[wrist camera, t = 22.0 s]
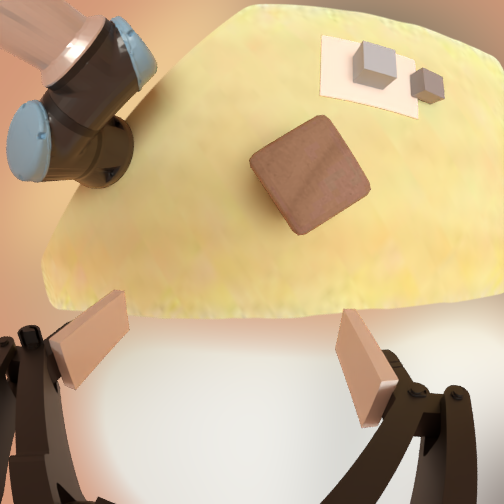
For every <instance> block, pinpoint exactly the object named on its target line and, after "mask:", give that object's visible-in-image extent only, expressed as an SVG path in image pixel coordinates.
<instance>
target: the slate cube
mask: <svg viewBox="0 0 504 504" xmlns="http://www.w3.org/2000/svg"><path fill="white" fill-rule="evenodd" d="M395 79H397V67H396V54H395V50H393V49H390V48H386V47H383V46H380V45H377V44H373V43H369V42H366V41H363V42H362V43H361V45H360V46H359V48H358V49H357V51H356V53H355V54H354V56H353V83H357V84H361V85H365V86H369V87H373V88H377V89H381V90H383V89H384V88H386V87H387V86H388V85H389V84H390V83H392V82H393V81H394V80H395Z"/></svg>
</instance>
